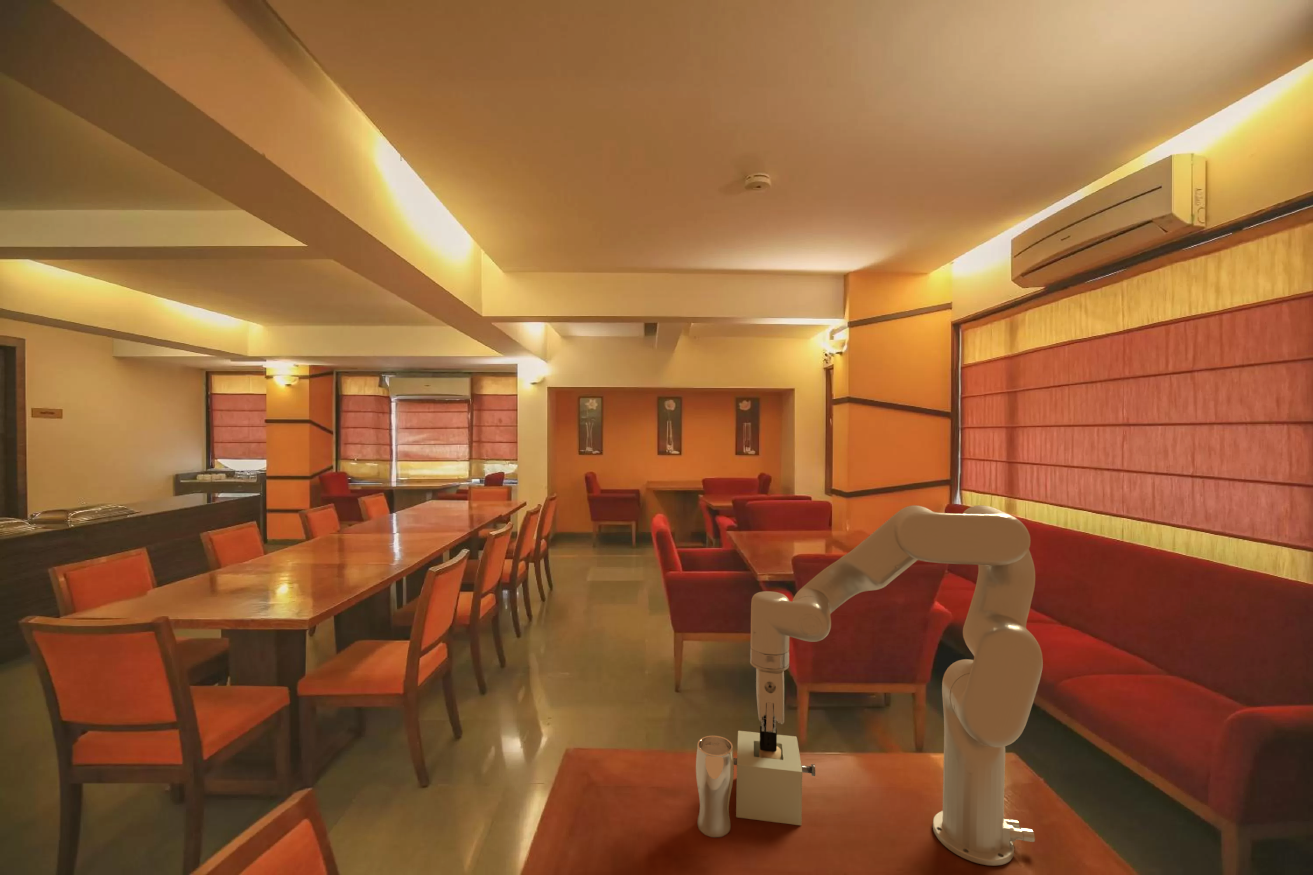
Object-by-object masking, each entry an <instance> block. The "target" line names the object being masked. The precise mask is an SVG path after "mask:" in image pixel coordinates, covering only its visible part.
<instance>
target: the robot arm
mask: <svg viewBox="0 0 1313 875" xmlns="http://www.w3.org/2000/svg"><path fill="white" fill-rule="evenodd" d="M1031 541H1032V540H1031V534H1030V532H1029V530H1028V528H1027V527H1026V525H1025V524H1024V523H1023V522H1022V521H1021V520H1019V519H1018V518H1017V517H1015V516H1014V515H1012V514H1009V513H1007V512H1004V511H1002V510H1000V509H998V508H995V507H993V506H990V505H989V506H988V505H981V504H980V505H974V506H970V507H969V508H967V509H965V510H964V511H963V512H962V513H952V512H951V513H949V512H947V513H946V512H936V511H932V510H931V509H929V508H928V507H925V506H921V505H909V506H905V507H903V508H902V509H900V510H899V511H897V512H895V513H894V514H893V515H892V516H891V517H890V518H889V519H887V520H886V521H884V523H883V524H881V525H880V526H879V527H878V528H876V529H875V531H873V532H872V533H871V534H870V535H868V537H866V538H865V539H864V540H862V541H861V542H860V543H859V544H858V545H856V546H855V547H854V548H853V549H852V550H851V551H849V552H848V553H846V554H844V555H842V556H841V557H840V558H839V559H837V560H836V561H834V562H832V563H831V564H830V565H828V566H827V567H825V568H824V569H823V570H821V571H820V572H819V573H817V574H816V575H815V576H814V577H813V578H811V579H810V580H809V581H808V582H807V583H806V584H805V585H803V586H802V587H801V588H800V589H799V590H798V591H796V593H795V595H794V597H793V598H792V601H791V600H790V599H789V597H787V596H786V595H785V594H784V593H781V592H777V591H769V590H768V591H766V590H765V591H764V590H763V591H759V592H756V593H754V594H753V595H752V598H751V600H750V601H751V603H750V653H749V655H750V657H749V658H750V660H749V663H750V665H751V666H752V667H753V668H754V669H755V672H756V674H755V676H756V678H755V681H756V682H755V688H756V693H755V695H756V704H757V715H758V720H759V722H760V725H759V733H760V750H763V751H772V752H776V750H777V735H778V733H777V732H778V731H777V730H778V729H777V723H778V724H780V725H784V723H785V672H784V671H786V670H788V669H789V666H790V638H793V639H797V640H801V641H804V642H809V643H810V642H812V643H813V642H814V643H816V642H820V641H822V640H824V639H825V638H826V637H827V636H829V633H830V631H831V628H832V618H831V614H832V613H833V612H835V611H836V609H838V608H839V607H840V606H842V605H843V604H844V603H845V602H847V601H848V600H849V599H852V598H853V597H854V596H855V595H858V594H860V593H863V592H869V591H878V590H881V589H883V588H886V587H887V585H889V584H890V583H891V582H892V581H894V580H895V579H896V578H897V577H898V576H900V575H901V574H903V573H904V572H905V571H906V570H907V569H908V568H910V567H911V566H912V565H913V564H915V563H916V562H917V561H921V562H926V563H927V562H928V563H937V564H951V565H952V564H953V565H975V566H976V565H977V567H978V571H977V572H978V574H977V578H976V579H977V580H976V584H975V588H974V592H973V595H972V598H971V602H970V605H969V608H968V612H967V614H966V619H965V620H964V624H963V628H962V638H963V641H964V643H965V645H966V646H967V648H968V649H969V651H970V652H971V654H972V655H973V659H967V658H965V659H959V660H956V661H955V662H952V664H950V665H949V666H948V667H947V669H946V670H945V671H944V673H943V677H942V682H941V684H942V685H941V694H942V695H941V696H942V707H943V708H942V709H943V726H944V727H943V779H942V780H943V782H942V810H941V811H939V812H937V813H935V815H934V816H933V818H932V819H933V820H932V828H933V829H932V830H933V833H934V835H935V837H936V838H937V839H938V841H939V842H940V843H941V844H942V845H943V846H944V847H945V848H946V849H948V850H949V851H951V853H953V854H954V855H957V856H959V857H960V858H962V859H965V860H966V861H968V862H972V863H975V864H978V865H979V864H980V865H985V866H990V867H991V866H994V867H995V866H1002V865H1005V864H1008V863H1009V862H1011V861H1012V859H1013V858H1014V855H1015V854H1014V852H1015V851H1014V850H1015V849H1014V843H1015V842H1016V840H1018V841H1019V840H1020V841H1023V842H1031V843H1034V842H1035V841H1036V837H1035V833H1034V831H1033V829H1031V828H1028V827H1020V822H1019V821H1018V820H1017V819H1012V818H1009V819H1008V818H1004V817H1005V814H1004V813H1005V781H1006V780H1005V776H1006V775H1005V774H1006V773H1005V772H1006V771H1005V770H1006V746H1010V745H1011V744H1013V743H1015V742H1016V740H1018V739H1019V737H1021V735H1022V734H1023V732H1024V729H1025V728H1026V725H1027V722H1028V720H1029V717H1030V713H1031V710H1032V707H1033V704H1034V701H1035V698H1036V695H1037V692H1038V687H1039V684H1040V681H1041V677H1042V673H1043V672H1042V671H1043V665H1044V664H1043V663H1044V662H1043V661H1044V660H1043V652H1042V649H1041V646H1040V644H1039V641H1037V639H1036V638H1035V636H1034V634H1032V632H1030V631H1029V629H1027V621H1028V617H1029V613H1030V610H1031V604H1032V601H1033V596H1034V592H1035V587H1036V568H1035V564H1034V559H1033V558H1032V557H1033V556H1032V553H1031V551H1030V547H1031Z"/></svg>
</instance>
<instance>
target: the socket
mask: <svg viewBox="0 0 1313 875" xmlns="http://www.w3.org/2000/svg"><path fill="white" fill-rule="evenodd" d="M777 746H778V747H779V748H780V749H781V760H780V759H771V758H761V757H759V748H760V732H755V731H745V730H738V731H737V750H736V751H737V752H736V753H737V754H736V758H737V765H736V792H735V793H736V795H735V796H736V802H735V803H736V804H735V806H736V808H735V812H736V813H735V814H736V815H735V817H736V818H739V819H749V820H757V821H764V822H772V823H777V824H780V823H781V824H788V825H795V826H802V824H803V823H802V819H803V818H802V816H803V815H802V814H803V811H802V810H803V805H802V803H803V772H802V767H801V765H802V762H801V755H800V750H799V742H798V738H797V736H794V735H784V734H777Z"/></svg>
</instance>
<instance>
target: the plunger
mask: <svg viewBox="0 0 1313 875" xmlns="http://www.w3.org/2000/svg"><path fill="white" fill-rule="evenodd" d="M801 767H802V774H803V773H804V774H811V775H810V776H812V777H816V764H815V763H811V764H810V765H802V764H801Z"/></svg>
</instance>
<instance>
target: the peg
mask: <svg viewBox="0 0 1313 875" xmlns="http://www.w3.org/2000/svg"><path fill="white" fill-rule="evenodd" d="M759 757H761V758H771V759H780V760H781V749H780V748H779V747H778V746H777V750H776V752H772V751H763V750H760V748H759Z"/></svg>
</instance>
